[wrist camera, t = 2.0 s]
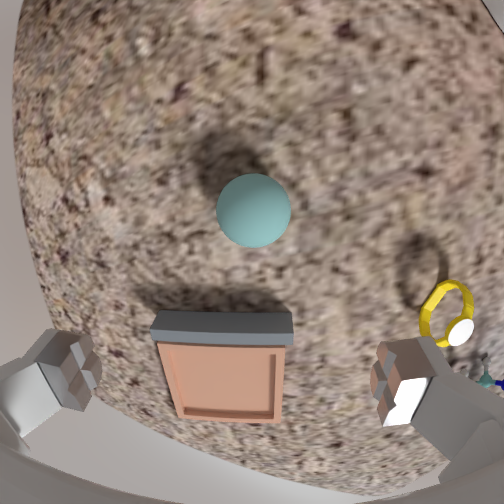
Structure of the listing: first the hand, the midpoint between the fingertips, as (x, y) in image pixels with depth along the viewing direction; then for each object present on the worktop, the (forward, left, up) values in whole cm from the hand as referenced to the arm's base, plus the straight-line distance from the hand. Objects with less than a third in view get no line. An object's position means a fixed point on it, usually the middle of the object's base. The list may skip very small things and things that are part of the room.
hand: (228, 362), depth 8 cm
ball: (0, 0, -17) cm, 17 cm away
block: (+10, -3, -17) cm, 20 cm away
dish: (+19, -3, -17) cm, 26 cm away
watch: (+9, +17, -17) cm, 26 cm away
